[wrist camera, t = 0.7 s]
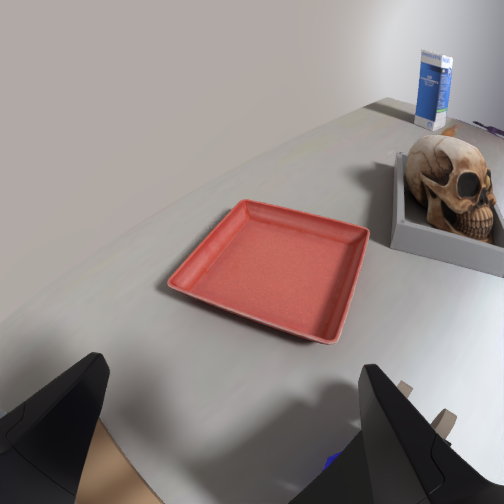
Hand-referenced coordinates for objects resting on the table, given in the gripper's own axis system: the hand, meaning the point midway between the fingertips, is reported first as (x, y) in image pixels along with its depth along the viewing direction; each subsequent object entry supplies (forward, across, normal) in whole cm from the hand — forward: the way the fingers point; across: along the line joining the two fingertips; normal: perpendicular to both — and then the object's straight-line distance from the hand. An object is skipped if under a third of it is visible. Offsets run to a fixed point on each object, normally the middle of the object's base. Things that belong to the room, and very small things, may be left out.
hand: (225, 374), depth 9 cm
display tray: (+37, -30, +8) cm, 48 cm away
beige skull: (+37, -31, +8) cm, 49 cm away
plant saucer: (+24, -2, +11) cm, 27 cm away
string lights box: (+90, -54, -4) cm, 105 cm away
